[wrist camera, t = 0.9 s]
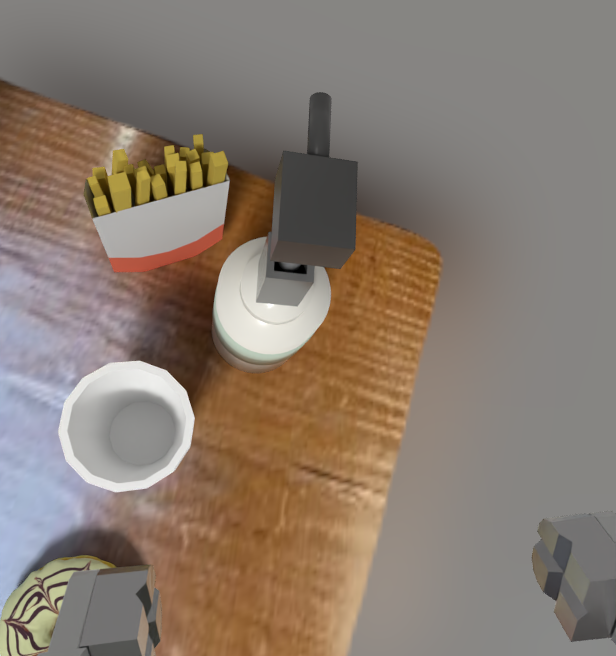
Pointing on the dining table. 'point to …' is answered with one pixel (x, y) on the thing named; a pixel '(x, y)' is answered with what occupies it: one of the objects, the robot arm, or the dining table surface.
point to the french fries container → (159, 207)
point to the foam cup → (126, 426)
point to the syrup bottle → (266, 308)
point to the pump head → (314, 200)
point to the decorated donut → (39, 605)
